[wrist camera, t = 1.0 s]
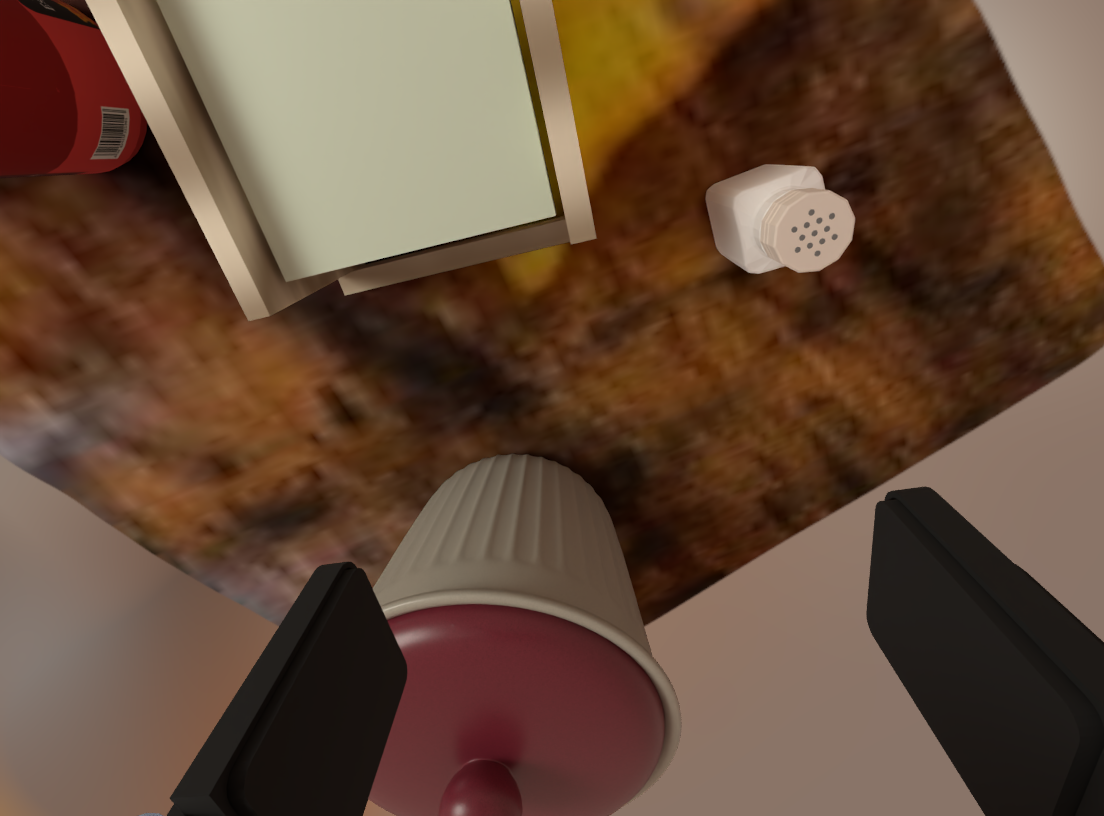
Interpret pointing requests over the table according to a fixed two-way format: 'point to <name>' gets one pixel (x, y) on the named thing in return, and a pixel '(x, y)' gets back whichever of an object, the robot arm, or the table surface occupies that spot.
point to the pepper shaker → (779, 219)
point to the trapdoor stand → (223, 205)
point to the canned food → (61, 94)
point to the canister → (520, 654)
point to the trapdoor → (368, 121)
